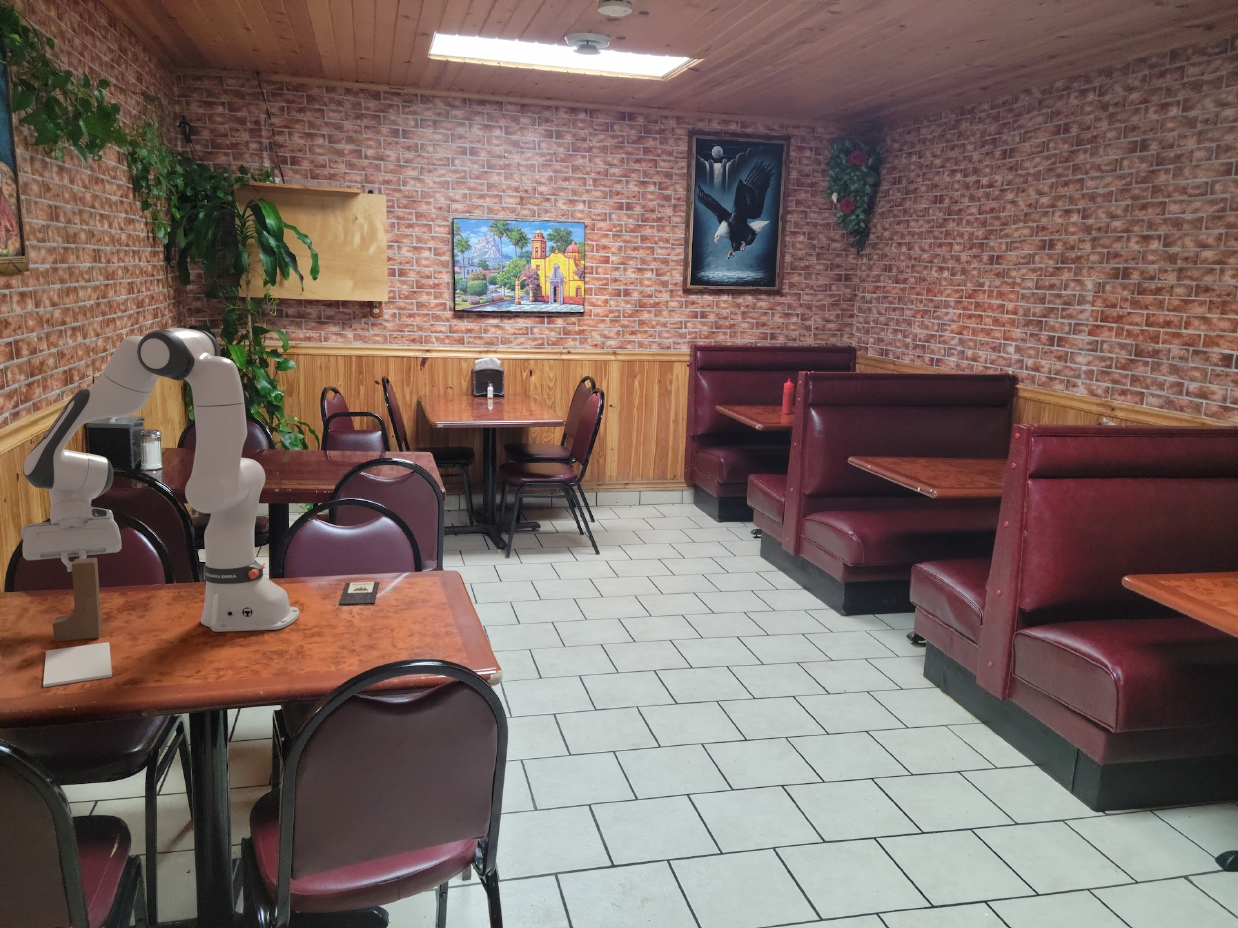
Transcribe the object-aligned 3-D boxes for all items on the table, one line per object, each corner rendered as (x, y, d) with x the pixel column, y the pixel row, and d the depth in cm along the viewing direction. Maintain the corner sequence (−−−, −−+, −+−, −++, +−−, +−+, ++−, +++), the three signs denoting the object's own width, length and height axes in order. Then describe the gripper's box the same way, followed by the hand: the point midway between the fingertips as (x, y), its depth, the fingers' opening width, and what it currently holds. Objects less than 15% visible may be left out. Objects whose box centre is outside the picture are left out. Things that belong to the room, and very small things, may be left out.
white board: (46, 653, 199) (46, 650, 199) (109, 644, 205) (109, 641, 205) (43, 687, 182) (43, 684, 182) (112, 676, 188) (111, 673, 188)
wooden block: (53, 642, 205) (47, 565, 202) (57, 635, 209) (51, 559, 206) (99, 638, 208) (94, 562, 205) (102, 631, 213) (97, 557, 209)
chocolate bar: (338, 603, 236) (345, 582, 253) (338, 607, 236) (345, 586, 254) (374, 602, 238) (379, 581, 255) (374, 606, 238) (379, 585, 255)
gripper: (19, 517, 213) (20, 568, 207) (118, 509, 224) (122, 558, 217) (21, 531, 218) (22, 582, 211) (119, 523, 228) (123, 571, 222)
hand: (74, 570), depth 214 cm, fingers closed
